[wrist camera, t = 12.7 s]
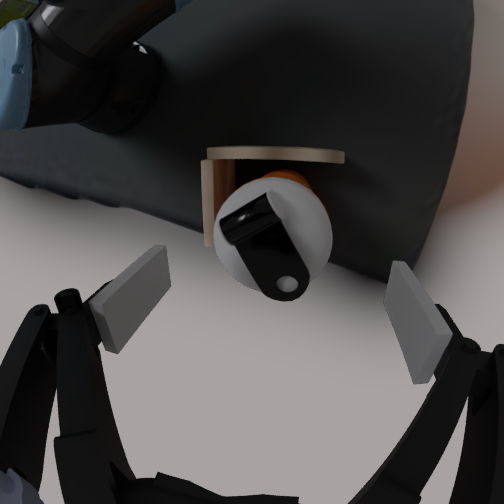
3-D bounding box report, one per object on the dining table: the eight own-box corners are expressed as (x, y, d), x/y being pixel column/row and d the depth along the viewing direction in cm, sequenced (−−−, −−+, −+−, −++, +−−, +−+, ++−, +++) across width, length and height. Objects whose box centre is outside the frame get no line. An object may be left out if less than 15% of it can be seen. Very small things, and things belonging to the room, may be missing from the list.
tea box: (56, -18, 23) (11, -31, 10) (55, 9, 27) (4, -3, 13) (16, 21, 27) (-27, 16, 14) (15, 49, 30) (-33, 47, 17)
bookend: (227, 219, 39) (204, 246, 30) (226, 145, 35) (200, 148, 26) (329, 225, 37) (339, 254, 28) (334, 149, 33) (348, 152, 24)
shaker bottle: (279, 239, 39) (259, 332, 21) (237, 189, 37) (175, 243, 19) (331, 201, 36) (363, 268, 17) (289, 147, 34) (277, 155, 16)
